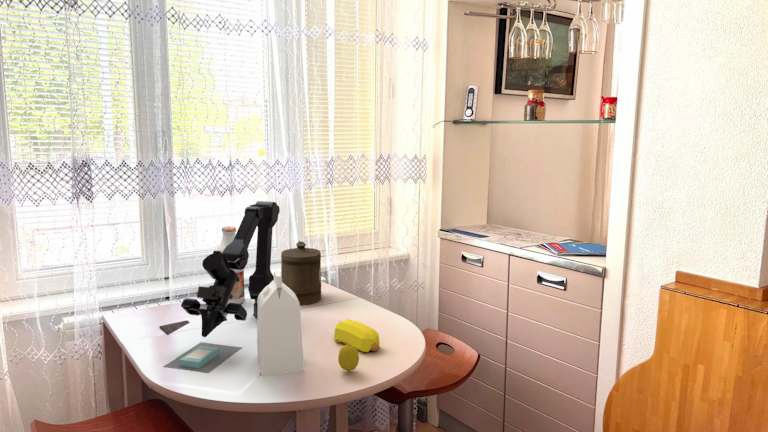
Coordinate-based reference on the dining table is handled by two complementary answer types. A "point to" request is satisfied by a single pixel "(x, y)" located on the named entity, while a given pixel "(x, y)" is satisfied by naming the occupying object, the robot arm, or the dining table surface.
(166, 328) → the chocolate bar
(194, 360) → the card box
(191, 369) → the mat
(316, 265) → the wooden container
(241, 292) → the fruit juice
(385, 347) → the dining table surface
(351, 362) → the lemon
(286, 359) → the milk
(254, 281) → the robot arm
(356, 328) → the yellow kitchen sponge
